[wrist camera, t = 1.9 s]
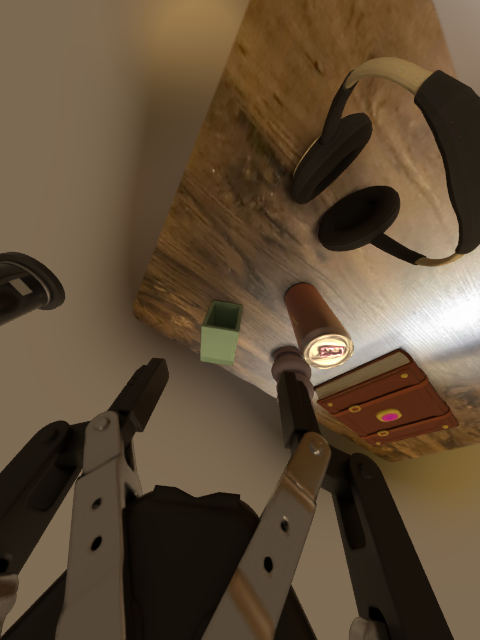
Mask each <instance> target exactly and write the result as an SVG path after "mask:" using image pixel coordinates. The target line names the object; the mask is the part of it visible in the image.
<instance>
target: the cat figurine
mask: <svg viewBox="0 0 480 640" xmlns="http://www.w3.org/2000/svg"><path fill="white" fill-rule="evenodd" d="M282 371H292V372H295V375H296V379H297V380H298V381H303V383H304V384H305V386H306V387H307V389H308V392H309V396H310V399H311V404H312V406H313V403H312V398H313V395H314V388H313V385H312V383H311V382H310V378H311V368H310V366H309V364H308V363H307V362H306V361H305V360H303V359H302V357H301V353H300V352H299V350H297V349H296V348H294V347H283V348H280V349H279V350H277V351H276V352H275V354H274V364H273V366H272V369H271V372H272V376H273V378H274V379H275V381H276V382H277V386H276V387H277V393H278V383H279V380H280V377H281V373H282ZM276 402H279V399H278V396H277V400H276ZM313 409H314V407H313Z"/></svg>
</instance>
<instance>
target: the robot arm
mask: <svg viewBox="0 0 480 640" xmlns="http://www.w3.org/2000/svg"><path fill="white" fill-rule="evenodd" d="M52 299H53V294H52V291H51V288H50V287H49V285H48V284H47V282H46V281H45V280H44V279H43V278H42V277H41V276H40V275H39V274H38V273H37V272H35V271H34V270H33V269H31V268H30V267H28V266H26V265H24V264H22V263H19V262H16V261H3V262H0V326H1V325H4V324H6V323H8V322H10V321H12V320H14V319H16V318H18V317H21V316H23V315H25V314H27V313H29V312H31V311H33V310H35V309H38V308H40V307H43V306H45V305H47V304H49V303H51V301H52ZM168 379H169V372H168V368H167V364H166V360H165V359H161V358H152V359H151V360H150V362H149V363H148V365H143V366H142V367H140V368H139V369H138V370H137V371H136V372H135V373H134V375H133V376H132V377H131V379H130V380H129V381H128V383H127V385H126V386H125V387H124V389H123V390H122V391H121V393H120V394H119V395H118V397H117V398H116V400H115V401H114V402H113V404H112V405H111V407H110V408H109V409H108V410H107V411H106V412H104V413H101V414H99V415H98V416H96V417H95V418H93V419H92V420H91V421H87V422H83V423H78V424H74V425H69V424H68V423H67V422H65V421H56V422H53V423H50V424H48V425H47V426H45V427H43V428H42V429H41V430H39V431H38V432H37V433H36V434H35V435H34V436H33V437H32V438H31V440H30V441H29V442H28V443H27V444H26V445H25V446H24V447H23V449H22V450H21V451H20V452H19V453H18V454H17V455H16V456H15V457H14V459H13V460H12V461H11V462H10V463H9V464H8V465H7V466H6V467H5V468H4V470H3V471H2V472H1V473H0V640H317V638H316V636H315V633H314V631H313V629H312V627H311V625H310V623H309V621H308V619H307V617H306V615H305V613H304V610H303V608H302V606H301V604H300V602H299V600H298V597H297V596H296V593H295V591H294V589H293V587H292V585H291V583H292V580H293V577H294V574H295V571H296V568H297V565H298V562H299V559H300V556H301V553H302V550H303V547H304V544H305V541H306V538H307V535H308V532H309V529H310V526H311V523H312V520H313V517H314V514H315V510H316V499H317V496H318V493H319V490H320V487H321V488H323V489H325V490H327V491H329V492H330V493H331V494H332V498H333V502H334V507H335V511H336V515H337V520H338V524H339V529H340V534H341V538H342V542H343V547H344V551H345V555H346V560H347V564H348V568H349V573H350V578H351V582H352V586H353V591H354V595H355V600H356V604H357V608H358V613H359V617H357V618H355V619H354V620H353V622H352V624H351V627H350V632H349V640H454V638H453V636H452V634H451V632H450V629H449V627H448V625H447V622H446V620H445V618H444V615H443V613H442V611H441V608H440V606H439V604H438V602H437V599H436V597H435V595H434V592H433V590H432V588H431V585H430V583H429V581H428V579H427V576H426V574H425V572H424V569H423V567H422V565H421V562H420V560H419V558H418V555H417V553H416V551H415V549H414V546H413V544H412V541H411V539H410V537H409V535H408V532H407V530H406V528H405V525H404V523H403V521H402V518H401V516H400V514H399V512H398V510H397V507H396V505H395V502H394V500H393V498H392V495H391V493H390V491H389V488H388V486H387V484H386V481H385V479H384V477H383V475H382V472H381V470H380V469H379V467H378V466H377V465H376V463H375V462H374V461H373V460H372V459H371V458H369V457H368V456H366V455H364V454H362V453H354V454H352V455H349V454H347V453H345V452H343V451H341V450H338V449H336V448H335V447H333V446H331V445H330V444H329V443H328V442H327V441H326V440H325V439H324V438H323V436H322V434H321V433H320V430H319V427H318V423H317V420H316V416H315V413H314V409H313V406H312V404H311V399H310V396H309V392H308V389H307V387H306V386H305V384H304V383H303V381H298V380H297V379H296V375H295V372H292V371H282V373H281V377H280V380H279V383H278V399H279V407H280V414H281V421H282V422H281V423H282V430H283V438H284V446H285V448H288V449H290V450H291V458H290V460H289V462H288V464H287V466H286V468H285V470H284V472H283V474H282V476H281V478H280V480H279V481H278V483H277V485H276V487H275V489H274V491H273V493H272V495H271V497H270V498H269V500H268V502H267V504H266V506H265V508H264V510H263V512H262V514H261V516H260V518H259V517H258V515H257V514H256V513H255V511H254V510H253V509H252V508H251V507H250V506H249V505H248V504H246V503H245V502H243V501H242V500H240V495H239V494H231V493H222V492H218V493H214V494H210V495H206V496H202V497H198V498H197V497H193V496H191V495H190V494H187V493H186V492H184V491H182V490H180V489H178V488H176V487H169V486H160V485H155V488H154V491H151V492H149V493H146V494H144V495H143V494H142V488H141V483H140V480H139V477H138V473H137V467H136V460H135V452H134V444H133V436H134V434H135V432H143V430H144V429H145V427H146V424H147V422H148V420H149V418H150V416H151V414H152V412H153V410H154V408H155V406H156V404H157V402H158V400H159V398H160V396H161V394H162V392H163V390H164V388H165V386H166V384H167V382H168ZM82 468H83V472H82V475H81V476H80V477H78V475H79V473H80V472H81V469H82ZM77 477H78V478H77ZM76 478H77V480H76ZM75 480H76V483H75V488H74V498H73V509H72V520H71V532H70V543H69V555H68V565H67V569H66V570H65V571H64V573H63V574H62V575H61V576H60V577H59V578H58V579H57V580H56V581H55V582H54V583H53V584H52V585H51V586H50V587H49V588H48V589H47V590H46V591H45V592H44V593H43V594H42V595H41V596H40V597H39V598H38V600H36V601H35V603H34V604H33V605H32V606H31V607H30V608H29V609H28V610H27V611H26V612H25V613H24V614H23V615H22V616H21V617H20V618H19V619H18V620H17V621H16V622H15V623H14V624H13V625H12V626H11V627H10V628H9V629H8V630H7V631H6V632H5V634H4V635H3V636H2V637H1V632H2V627H3V623H4V620H5V618H6V615H7V614H8V613H9V612H10V610H11V609H12V607H13V605H14V603H15V601H16V596H17V594H16V593H17V590H18V584H19V580H18V574H19V572H20V571H21V569H22V568H23V566H24V564H25V563H26V561H27V559H28V558H29V556H30V554H31V552H32V551H33V549H34V548H35V546H36V544H37V543H38V541H39V539H40V538H41V536H42V534H43V533H44V531H45V530H46V528H47V526H48V524H49V523H50V521H51V520H52V518H53V516H54V515H55V513H56V511H57V510H58V508H59V506H60V504H61V503H62V501H63V500H64V498H65V496H66V495H67V493H68V491H69V490H70V488H71V487H72V485H73V483H74V482H75Z"/></svg>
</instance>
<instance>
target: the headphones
mask: <svg viewBox="0 0 480 640" xmlns="http://www.w3.org/2000/svg"><path fill="white" fill-rule="evenodd" d="M366 77H379V78H384V79H387V80H390V81H392V82H395V83H397V84H399V85H400V86H402V87H404V88H406V89H407V90H408V91H410V92H411V93H412V94H413V95H414V96H415V97H414V103H415V104H416V105H417V106H418V107H419V109H420V110H421V111H422V113H423V115H424V117H425V119H426V121H427V123H428V125H429V127H430V129H431V131H432V133H433V135H434V138H435V141H436V143H437V146H438V149H439V151H440V153H441V156H442V159H443V163H444V168H445V172H446V181H447V188H448V194H449V198H450V201H451V204H452V207H453V209H454V211H455V213H456V216H457V220H458V223H459V241H458V246H457V247H456V250H455V253H454V254H453V255H451V256H450V257H447V258H444V259H428V258H426V256H424V255H422V254H419V253H417V252H414V251H412V250H410V249H408V248H406V247H405V246H403V245H401V244H400V243H398V242H396V241H395V240H393V239H392V238H390V237H389V236H387V235H385V234H384V232H385V231H386V230H387V229H388V228H389V227H390V226H391V225H392V223H393V222H394V221H395V219H396V218H397V215H398V213H399V209H400V198H399V194H398V193H397V192H396V191H395V190H394V189H393V188H391V187H389V186H372V187H368V188H364V189H362V190H359V191H357V192H355V193H353V194H351V195H349V196H347V197H346V198H344V199H343V200H341V201H340V202H339V203H337V204H336V205H335V206H334V207H333V208H332V209H331V210H330V211H329V212H328V213H327V214H326V215H325V217H324V218H323V220H322V222H321V224H320V226H319V230H318V237H319V240H320V242H321V244H322V245H323V246H324V247H325V248H327V249H328V250H331V251H349V250H354V249H357V248H360V247H362V246H364V245H367V244H369V243H371V244H372V245H374V246H376V247H377V248H379V249H381V250H383V251H385V252H387V253H389V254H391V255H393V256H395V257H397V258H399V259H401V260H404V261H406V262H408V263H411V264H413V265H422V266H430V267H431V266H441V265H445V264H448V263H451V262H453V261H455V260H457V259H459V258H460V257H462V256H463V255H464V254H467V253H469V252H471V251H473V250H474V249H475V248H476V247H477V246H478V245H479V244H480V97H479V96H478V95H477V94H476V93H475V92H474V91H473V90H472V88H470V87H469V86H467V85H465V84H463V83H462V82H460V81H458V80H456V79H454V78H453V77H451V76H449V75H447V74H446V73H444V72H442V71H440V70H437V71H435V72H434V73H432V72H430V71H427V70H425V69H423V68H421V67H420V66H418V65H416V64H414V63H411V62H409V61H406V60H403V59H399V58H393V57H382V58H376V59H373V60H369V61H367V62H365V63H363V64H361V65H360V66H359V67H357V68H356V69H354V70H352V71H351V72H350V73H349V74H348V75H347V76H346V78H345V80H344V82H343V83H342V85H341V87H340V88H339V90H338V92H337V94H336V95H335V97H334V99H333V101H332V104H331V107H330V110H329V112H328V115H327V118H326V121H325V124H324V128H323V131H322V133H321V134H320V136H319V137H318V138H317V139H316V140H315V141H314V142H313V144H312V145H311V146H310V147H309V149H308V150H307V151H306V153H305V154H304V156H303V157H302V158H301V160H300V162H299V163H298V165H297V167H296V169H295V171H294V174H293V180H292V186H291V194H292V197H293V199H294V200H295V202H297V203H299V204H305V203H307V202H309V201H310V200H312V199H313V198H315V197H316V196H317V195H319V194H320V193H321V192H322V191H323V190H325V189H326V188H327V187H328V186H329V185H330V184H331V183H332V182H333V181H334V180H335V179H336V178H337V177H338V176H339V175H340V174H341V173H342V172H343V171H344V170H345V169H346V168H347V167H348V166H349V165H350V164H351V163H352V162H353V161H354V159H355V158H356V157H357V156H358V155H359V153H360V152H361V151H362V149H363V148H364V147H365V145H366V144H367V143H368V141H369V139H370V137H371V134H372V122H371V120H370V119H369V117H368V116H367V115H366V114H365V113H356V114H351V115H348V116H346V117H341V115H342V112H343V109H344V106H345V104H346V101H347V99H348V98H349V96H350V94H351V93H352V91H353V89H354V87H355V86H356V84H357V82H358V80H359V79H362V78H366Z"/></svg>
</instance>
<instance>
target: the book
mask: <svg viewBox="0 0 480 640" xmlns="http://www.w3.org/2000/svg"><path fill="white" fill-rule="evenodd" d="M423 373H424V371H423V370H422V369H420V368H419V367H418V365H417V364H416V362H415V361H414V360H413V358H412V357H411V356H410V355H409V354H408V353H407V352H406V351H404V350H401V349H398V350H395V351H393V352H391V353H389V354H387V355H384V356H382V357H380V358H378V359H376V360H374V361H371V362H369V363H367V364H365V365H363V366H360V367H358V368H356V369H354V370H352V371H349V372H347V373H345V374H343V375H341V376H338V377H336V378H334V379H332V380H330V381H328V382H325V383H323V384H321V385H319V386H317V387H314V390H315V391H316V392H317V394H318V398H319V400H317V403H318V404H319V405H321V406H322V407H323V408H324V409H326V410H327V411H328V412H330V414H331V415H332V416H334V417H336V418H337V419H339V420H340V421H341V422H342V423H344V424H345V425H346V426H348V427H349V428H350V429H352V430H353V431H354V432H355V433H357V434H358V435H359V436H360V437H361V438H362V439H364V440H366V441H367V442H368V443H370V444H371V445H372V446H378V445H382V444H386V443H390V442H394V441H398V440H402V439H406V438H411V437H415V436H419V435H423V434H427V433H431V432H435V431H440V430H444V429H448V428H452V427H456V426H458V425H459V423H458V421H457V419H456V418H455V416H454V415H453V414H452V412H451V409H450V408H449V406H448V405H447V404H446V403H445V402H444V401H443V400H442V398H441V397H440V396H439V394H438V393H437V392H436V390H435V389H434V387H433V386H432V385H431V383H430V382H429V380H428V377H427V375H426V374H425V373H424V374H425V375H424V374H423ZM447 406H448V407H447Z"/></svg>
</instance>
